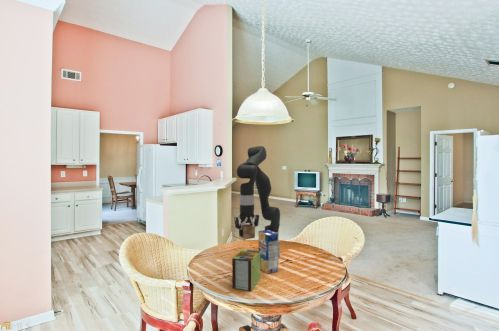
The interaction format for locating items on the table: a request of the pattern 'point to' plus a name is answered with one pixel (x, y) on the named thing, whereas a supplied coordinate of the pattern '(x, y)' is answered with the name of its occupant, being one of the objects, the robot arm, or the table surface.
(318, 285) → the table surface
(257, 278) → the protein box
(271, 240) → the beverage box
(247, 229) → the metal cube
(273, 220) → the robot arm
